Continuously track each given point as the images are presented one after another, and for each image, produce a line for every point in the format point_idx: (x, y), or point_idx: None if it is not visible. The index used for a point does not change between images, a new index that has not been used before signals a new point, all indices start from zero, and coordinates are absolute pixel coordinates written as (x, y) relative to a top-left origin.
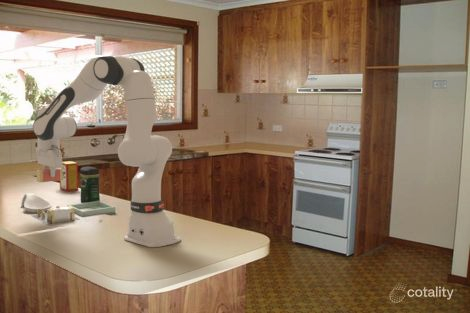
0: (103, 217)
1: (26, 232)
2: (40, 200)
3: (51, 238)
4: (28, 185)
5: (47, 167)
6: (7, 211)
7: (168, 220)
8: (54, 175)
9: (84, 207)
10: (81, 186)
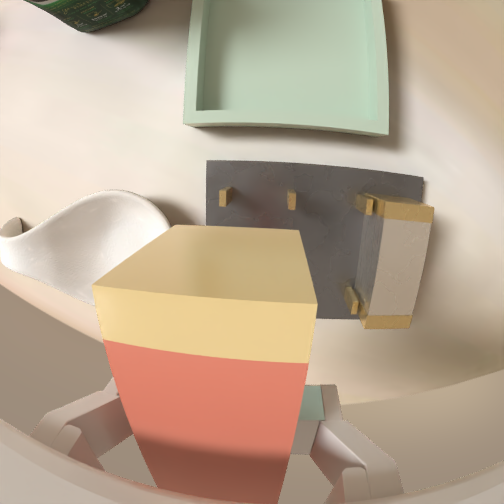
0: (413, 63)
1: (393, 379)
2: (62, 223)
3: (488, 342)
4: None
5: (82, 432)
6: (72, 320)
7: None
8: (335, 394)
9: (205, 42)
10: (50, 4)
